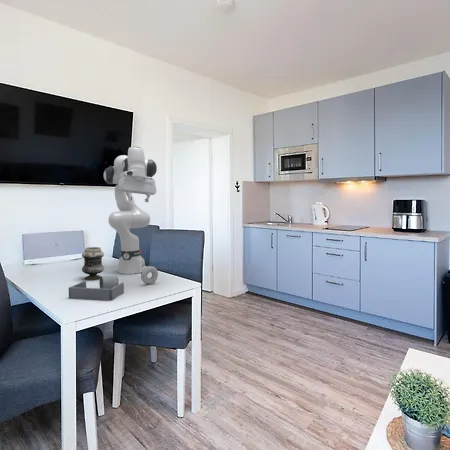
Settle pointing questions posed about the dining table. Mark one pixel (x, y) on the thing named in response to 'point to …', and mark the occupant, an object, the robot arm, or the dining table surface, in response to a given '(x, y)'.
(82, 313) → the dining table surface
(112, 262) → the dining table surface
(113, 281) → the ceramic mug
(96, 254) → the apothecary jar
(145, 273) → the donut
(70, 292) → the box
